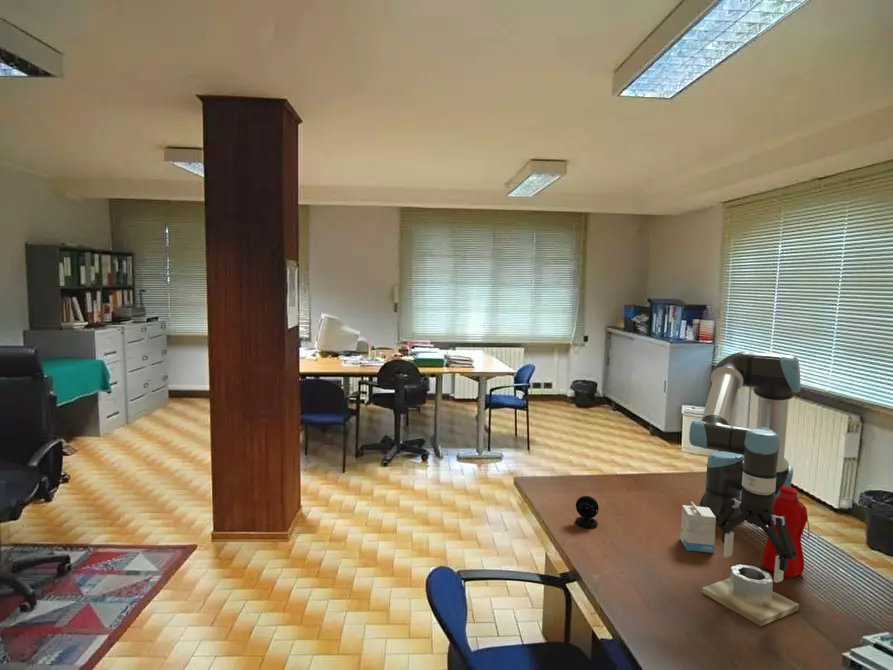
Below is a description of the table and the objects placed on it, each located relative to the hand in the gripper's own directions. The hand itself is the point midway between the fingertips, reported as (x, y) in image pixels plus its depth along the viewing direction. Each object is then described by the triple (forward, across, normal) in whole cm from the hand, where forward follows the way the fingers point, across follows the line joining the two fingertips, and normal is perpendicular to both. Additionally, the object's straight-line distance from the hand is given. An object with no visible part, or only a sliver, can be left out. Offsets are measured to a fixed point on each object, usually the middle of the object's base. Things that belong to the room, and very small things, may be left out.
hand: (751, 567), depth 138 cm
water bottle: (+10, -5, +24) cm, 27 cm away
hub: (+7, 0, 0) cm, 7 cm away
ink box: (+10, -27, +14) cm, 32 cm away
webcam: (+10, -54, -8) cm, 55 cm away
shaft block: (+9, 0, -1) cm, 9 cm away
